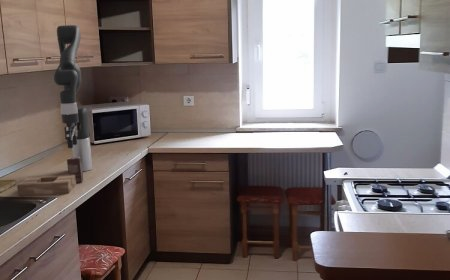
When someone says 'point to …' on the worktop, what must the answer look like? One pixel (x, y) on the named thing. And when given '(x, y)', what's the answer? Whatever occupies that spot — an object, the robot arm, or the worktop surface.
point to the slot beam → (46, 185)
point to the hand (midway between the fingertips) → (72, 146)
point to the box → (75, 168)
